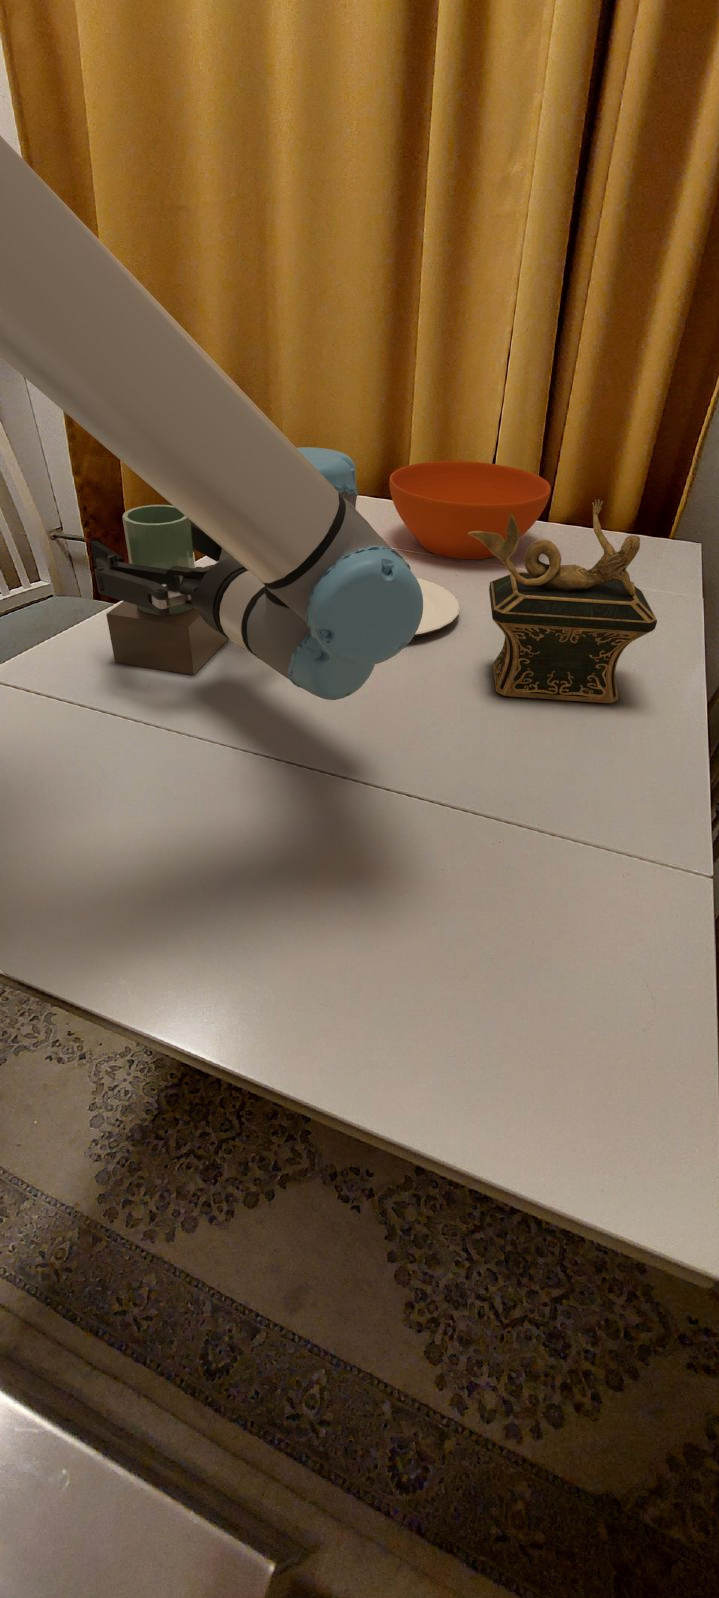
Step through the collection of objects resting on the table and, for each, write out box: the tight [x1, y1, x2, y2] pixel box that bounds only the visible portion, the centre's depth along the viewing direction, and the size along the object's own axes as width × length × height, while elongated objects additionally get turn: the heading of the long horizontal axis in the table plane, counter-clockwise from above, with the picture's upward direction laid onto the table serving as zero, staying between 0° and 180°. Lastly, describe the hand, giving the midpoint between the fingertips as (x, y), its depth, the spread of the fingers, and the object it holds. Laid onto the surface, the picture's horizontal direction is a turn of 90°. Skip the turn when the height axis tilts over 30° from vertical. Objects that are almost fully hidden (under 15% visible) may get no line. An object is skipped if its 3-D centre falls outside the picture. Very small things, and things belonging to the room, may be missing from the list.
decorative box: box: [468, 498, 658, 704], centre depth 82 cm, size 20×10×20 cm, turn 85°
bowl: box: [388, 460, 552, 560], centre depth 122 cm, size 25×25×10 cm
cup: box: [121, 504, 197, 615], centre depth 85 cm, size 7×7×10 cm
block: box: [105, 601, 229, 676], centre depth 89 cm, size 10×10×6 cm
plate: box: [414, 577, 461, 637], centre depth 101 cm, size 21×21×2 cm
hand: (144, 543), depth 87 cm, fingers open, 11 cm apart
